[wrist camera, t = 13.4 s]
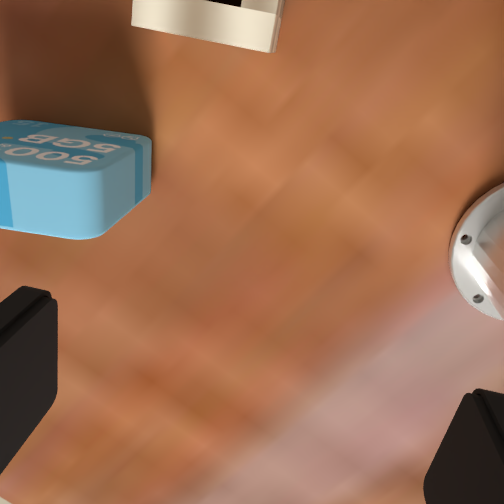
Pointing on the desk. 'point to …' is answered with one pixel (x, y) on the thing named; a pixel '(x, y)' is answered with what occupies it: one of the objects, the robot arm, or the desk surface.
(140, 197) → the data package
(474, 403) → the robot arm
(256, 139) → the desk surface
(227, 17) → the pin block
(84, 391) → the desk surface
